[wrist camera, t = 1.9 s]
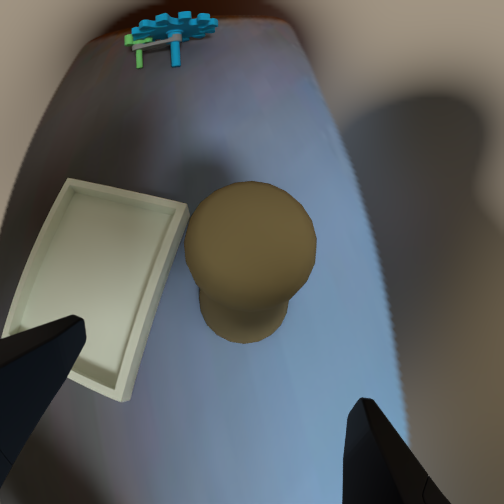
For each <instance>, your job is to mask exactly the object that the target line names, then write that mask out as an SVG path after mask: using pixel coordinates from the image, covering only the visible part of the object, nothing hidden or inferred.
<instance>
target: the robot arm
mask: <svg viewBox="0 0 504 504" xmlns="http://www.w3.org/2000/svg"><path fill="white" fill-rule="evenodd" d="M86 338H87V336H86V328H85V321H84V319H83V318H81V317H79V316H77V315H74V314H72V315H69V316H66V317H63V318H60V319H57V320H54V321H51V322H49V323H46V324H43V325H40V326H37V327H34V328H31V329H28V330H25V331H22V332H19V333H17V334H14V335H11V336H8V337H5V338H2V339H0V488H1V486H2V484H3V482H4V480H5V478H6V477H7V475H8V473H9V471H10V469H11V468H12V465H13V464H14V462H15V460H16V458H17V457H18V455H19V453H20V451H21V450H22V448H23V446H24V445H25V443H26V441H27V440H28V438H29V436H30V435H31V433H32V431H33V430H34V428H35V426H36V425H37V423H38V422H39V420H40V418H41V417H42V415H43V414H44V412H45V410H46V409H47V407H48V406H49V404H50V403H51V401H52V400H53V398H54V396H55V395H56V393H57V392H58V390H59V389H60V387H61V386H62V384H63V383H64V381H65V380H66V378H67V377H68V375H69V373H70V371H71V369H72V367H73V365H74V363H75V362H76V360H77V358H78V356H79V354H80V352H81V350H82V349H83V347H84V345H85V343H86ZM342 504H451V503H450V502H449V501H448V499H447V498H446V497H445V496H444V495H443V494H442V492H441V491H440V490H439V488H438V487H437V486H436V484H435V483H434V482H433V481H432V479H431V478H430V476H428V474H427V472H426V471H425V469H424V468H423V467H422V465H421V464H420V463H419V461H418V460H417V458H416V457H415V456H414V454H413V453H412V452H411V450H410V449H409V447H408V446H407V445H406V443H405V442H404V441H403V439H402V438H401V437H400V435H399V434H398V432H397V431H396V430H395V428H394V427H393V426H392V424H391V423H390V422H389V420H388V419H387V417H386V416H385V415H384V413H383V412H382V411H381V409H380V408H379V407H378V405H377V404H376V403H375V401H374V400H373V399H370V398H363V397H362V398H360V399H359V400H358V401H357V402H356V404H355V405H354V407H353V408H352V410H351V411H350V413H349V415H348V418H347V428H346V438H345V447H344V456H343V497H342Z"/></svg>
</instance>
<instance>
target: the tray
mask: <svg viewBox="0 0 504 504" xmlns="http://www.w3.org/2000/svg"><path fill="white" fill-rule="evenodd" d="M189 218H190V213H189V209H188V205H187V204H186V203H182V202H177V201H173V200H169V199H164V198H160V197H155V196H151V195H147V194H142V193H138V192H133V191H128V190H124V189H119V188H115V187H110V186H105V185H101V184H96V183H91V182H86V181H81V180H76V179H71V178H67V180H66V182H65V184H64V185H63V187H62V189H61V191H60V193H59V195H58V196H57V198H56V200H55V202H54V204H53V206H52V208H51V210H50V212H49V214H48V216H47V218H46V220H45V222H44V224H43V226H42V228H41V231H40V233H39V235H38V237H37V239H36V242H35V244H34V246H33V249H32V251H31V253H30V256H29V258H28V260H27V263H26V265H25V268H24V271H23V273H22V276H21V278H20V281H19V284H18V287H17V289H16V292H15V295H14V298H13V301H12V304H11V307H10V310H9V313H8V317H7V320H6V323H5V327H4V330H3V334H2V338H5V337H8V336H11V335H14V334H17V333H19V332H22V331H25V330H28V329H31V328H34V327H37V326H40V325H43V324H46V323H49V322H51V321H54V320H57V319H60V318H63V317H66V316H69V315H72V314H74V315H77V316H79V317H81V318H83V319H84V321H85V328H86V336H87V338H86V343H85V345H84V347H83V349H82V350H81V352H80V354H79V356H78V358H77V360H76V362H75V363H74V365H73V367H72V369H71V371H70V373H69V375H68V377H67V378H69V379H71V380H73V381H75V382H77V383H79V384H81V385H83V386H85V387H88V388H90V389H92V390H94V391H96V392H98V393H100V394H103V395H105V396H107V397H109V398H112V399H114V400H116V401H119V402H125V401H129V400H130V398H131V394H132V391H133V387H134V383H135V380H136V376H137V373H138V369H139V366H140V362H141V359H142V356H143V352H144V349H145V346H146V342H147V339H148V336H149V333H150V329H151V326H152V323H153V320H154V317H155V314H156V311H157V308H158V305H159V301H160V298H161V295H162V293H163V290H164V287H165V284H166V281H167V278H168V275H169V272H170V269H171V266H172V264H173V261H174V258H175V255H176V253H177V250H178V247H179V244H180V242H181V239H182V236H183V234H184V231H185V228H186V226H187V223H188V220H189Z"/></svg>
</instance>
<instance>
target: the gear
mask: <svg viewBox="0 0 504 504" xmlns="http://www.w3.org/2000/svg"><path fill="white" fill-rule="evenodd" d="M215 27H218V20H217V19H214V18H211V19H210V15H209V14H204V13H200V14H198V15H197V18H196V19H191V12H190V11H185V12H179V13H178V18H172V17H170V16H169V15H168V14H166V13H164V14H161V15H158V16H156V21H150V20H142V21H141V22H140V23H139V27H135V28H132V34H129V35H126V36H125V46H132V45H133V46H132V52H136V63H137V69H140V68H143V60H142V51H146V50H150V49H155V48H159V47H164V46H169V45H171V62H172V67H180V66H181V62H180V44H179V43H181V42H185V41H189V37H194V38H203V37H205V33H214V32H215ZM156 39H161V40H160V41H155V40H156Z"/></svg>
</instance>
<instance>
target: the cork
mask: <svg viewBox="0 0 504 504" xmlns="http://www.w3.org/2000/svg"><path fill="white" fill-rule="evenodd" d="M316 241H317V238H316V234H315V231H314V227H313V223H312V220H311V218H310V217H309V215H308V214H307V212H306V211H305V209H304V208H303V206H302V205H301V204H300V203H299V202H298V201H297V200H296V199H294V198H293V197H292V196H291V195H290V194H288V193H287V192H286V191H284V190H282V189H280V188H278V187H276V186H273V185H271V184H268V183H262V182H255V181H247V182H238V183H233V184H230V185H228V186H225V187H223V188H220V189H218V190H216V191H214V192H213V193H212V194H211V195H209V196H208V197H207V198H206V199H204V200H203V201H202V202H201V203H200V204H199V205H198V207H197V208H196V210H195V211H194V213H193V214H192V216H191V218H190V220H189V224H188V228H187V232H186V236H185V240H184V247H185V259H186V263H187V265H188V267H189V270H190V272H191V274H192V276H193V278H194V280H195V283H196V284H197V285H198V286H199V288H200V295H199V301H200V309H201V313H202V315H203V317H204V320H205V322H206V324H207V325H208V326H209V327H210V328H211V329H212V330H213V331H214V332H215V333H216V334H217V335H218V336H220V337H222V338H224V339H226V340H228V341H230V342H236V343H242V344H246V343H252V342H258V341H260V340H262V339H264V338H266V337H268V336H270V335H272V334H273V333H274V332H275V330H276V329H277V328H278V327H279V326H280V325H281V324H282V322H283V320H284V317H285V315H286V313H287V308H288V302H289V300H290V299H291V298H292V297H293V296H294V295H295V294H296V293H297V291H298V290H299V289H300V288H301V287H302V286H303V285H304V284H305V283H306V282H307V280H308V278H309V275H310V273H311V271H312V269H313V266H314V264H315V256H316Z"/></svg>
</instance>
